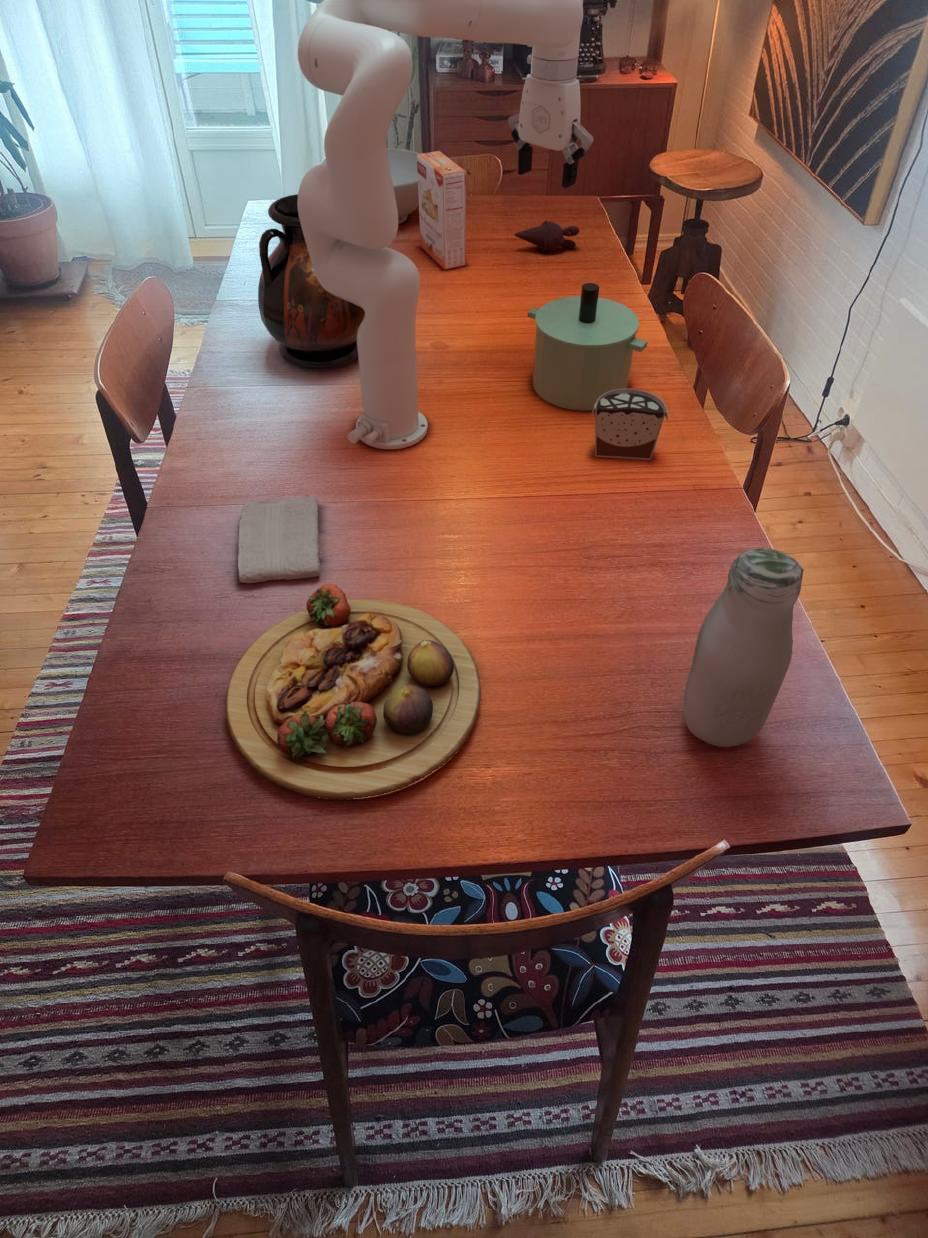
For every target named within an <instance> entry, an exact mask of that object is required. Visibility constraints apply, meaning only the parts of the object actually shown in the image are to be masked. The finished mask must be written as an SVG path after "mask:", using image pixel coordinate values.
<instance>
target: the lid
mask: <svg viewBox="0 0 928 1238" xmlns="http://www.w3.org/2000/svg"><path fill="white" fill-rule="evenodd" d="M599 295H600V285H599V284H598V283H594V282H586V283H583V284H582V285H581V291H580V295H576V296H575V295H574V296H565V297H561V298H560V297H559V298H557V299H553V300H551V301H549V302H546V303H545V304H543V305H541V306H540V308H539V310H538V311H537V313H536V316H535V319H534V323H535V327H536V326H537V328H538V330H539V331H540V332H541V333H542V334H543V335H545V336H546V337H548V338H550V339H552V340H554V341H556V342H559V343H562V344H565V345H569V346H574V347H582V348H602V347H610V346H614V345H618V344H621V343H623V342H626V341H628V340H629V339H631V338H632V337H633V336H634V335H635V334H636V335H637V333H638V331H639V328H640V320H639V317H638V316H637V314H636V313H635V312H634V311H633V310H632V309H631V308H630V307H628V306H626V305H624V304H622V303H620V302H618V301H615V300H611V299H607V298H604V297H599Z"/></svg>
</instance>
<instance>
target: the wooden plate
mask: <svg viewBox="0 0 928 1238" xmlns="http://www.w3.org/2000/svg"><path fill="white" fill-rule="evenodd" d="M307 597H308V599H307V601H306V604H305V605H306V609H303V610H301V611H298V612H296V613H295V614H292V615H291V616H288V617H286V618H285V619H283V620H281V621H279V622H278V623H276V624H274V625H273V626H271V627H270V628H269V629H268V630H266V631H265V632H264V633H262V634H261V635H260V636H259V637H258V638H257V639H256V640H255V641H253V643H252V644H251V645H250V646H249V647H248V649H247V650H246V651H245V652H244V654H243V655H242V656H241V658H240V659H239V661H238V662H237V664H236V666H235V668H234V670H233V672H232V674H231V676H230V679H229V682H228V685H227V689H226V690H227V691H226V695H225V715H226V726H227V729H228V731H229V734H230V737H231V739H232V741H233V744H234V745H235V747H236V749H237V750H238V752H239V753H240V755H241V756H242V757H243V759H244V760H245V761H246V762H247V763H248V765H250V767H252V768H253V769H254V770H255V771H256V772H257V773H258V774H259V775H261V776H262V777H264V778H265V779H266V780H268V781H270V782H271V783H273V784H275V785H277V786H279V787H281V786H282V787H281V788H283V787H284V788H283V789H285V788H286V789H285V790H288V791H290V790H291V792H293V791H294V792H293V793H296V792H297V793H296V794H299V793H300V794H299V795H302V794H303V795H302V796H306V795H307V796H306V797H310V796H312V797H311V798H316V797H320V798H319V800H320V799H321V798H326V799H325V800H330V799H353V798H362V797H368V796H375V795H381V794H384V793H388V792H391V791H395V790H397V789H401V788H403V787H406V786H408V785H409V784H412V783H414V782H415V781H418V780H420V779H421V778H424V777H425V776H426V775H428V774H430V773H432V771H434V770H436V769H438V768H439V767H441V766H443V764H445V763H446V762H447V761H448V760H449V759H450V758H452V757H453V756H454V755H455V753H456V752H457V751H458V750H459V749H460V748H461V746H462V745H463V743H464V742H465V740H466V739H467V737H468V736H469V737H470V735H471V733H472V731H473V729H474V727H475V725H476V722H477V719H478V716H479V713H478V712H480V706H481V697H482V687H481V679H480V674H479V671H478V668H477V664H476V662H475V660H474V658H473V655H472V654H471V652H470V650H469V649H468V647H467V645H466V644H465V643H464V641H463V640H462V639H461V638H460V637H459V636H458V635H457V634H456V632H454V631H453V630H452V629H451V628H450V627H449V626H448V625H446V624H444V623H443V622H442V621H440V620H439V619H437V618H436V617H434V616H433V615H431V614H429V613H427V612H425V611H422V610H420V609H418V608H416V607H414V606H409V605H406V604H403V603H400V602H394V601H389V600H381V599H371V598H369V599H368V598H359V599H358V598H355V599H347V596H346V593H345V592H344V591H343V589H342V588H340V587H339V586H338V585H336V584H334V583H325V584H323V585H321V586H320V588H317V589H316V591H314V592H313V593H312V594H311V595H307ZM474 724H475V725H474ZM473 726H474V727H473ZM469 734H470V735H469ZM469 737H468V738H469ZM467 740H468V739H467ZM467 740H466V741H467ZM465 743H466V742H465ZM465 743H464V744H465ZM463 746H464V745H463ZM463 746H462V747H463ZM461 749H462V748H461ZM461 749H460V750H461ZM460 750H459V751H460ZM455 756H456V755H455ZM455 756H454V757H455ZM454 757H453V758H454ZM453 758H452V759H453ZM446 765H447V764H445V765H444V766H446ZM444 766H443V767H444ZM383 767H386V768H383ZM376 769H379V770H376ZM373 770H374V771H373ZM440 770H441V769H439V770H438V771H440ZM438 771H436V772H435V773H437V772H438ZM356 772H357V773H356ZM423 781H424V780H422V781H420V782H419V783H421V782H423ZM408 788H410V787H408ZM408 788H407V789H408ZM403 790H405V789H403ZM403 790H400V791H399V792H401V791H403ZM392 794H393V793H391V794H387V795H386V796H388V795H392ZM380 797H381V796H379V797H378V798H380ZM327 798H328V799H327ZM375 798H376V797H373V798H372V799H375ZM316 799H317V798H316ZM369 799H370V798H368V799H367V800H369ZM321 800H322V799H321ZM359 800H362V799H357V800H356V801H359Z"/></svg>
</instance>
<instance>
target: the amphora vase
mask: <svg viewBox="0 0 928 1238" xmlns="http://www.w3.org/2000/svg"><path fill="white" fill-rule="evenodd" d="M297 200H298V193H295V194H289V195H286V196H283V197H281V198H279V199H276V200H275V201H274V202H272V203H271V204H270V205H269V207H268V209H267V214H268V217H269V218H270V219H271V221H273V222H275V223H276V224H279V225H281V229H282V231H281V230H280V229H278V228H269V229H266V230H265V231H263V233H262V234H261V236H260V239H259V242H258V250H259V251H258V252H259V253H258V254H259V259H260V264H261V265H260V266H261V273H260V276H259V281H258V286H257V304H258V311H259V315H260V319H261V322H262V324H263V325H264V327H265V329H266V330H267V332H268V333H269V334H270V335H271V337H272V338H274V340H275V341H276V342H278V343H279V345H278V351H279V352H278V353H279V355H280V357H281V358H282V359H283V361H285V362H286V363H288V364H289V365H291V366H292V367H296V368H298V369H302V370H308V371H328V370H334V369H337V368H342V367H344V366H346V365H348V364H351V363H352V362H354V361H355V360H357V358H358V350H357V332H358V328H359V326H360V324H361V323H362V321H363V319H364V316H365V311H364V309H363V308H362V307H360V306H357V305H355V304H354V303H351V302H349V301H346V300H344V299H342V298H339V297H337V296H335V295H333V294H331V293H329V292H328V291H326V290H325V289H324V288H323V287H322V286H321V284H320V283H319V281H318V279H317V277H316V275H315V272H314V269H313V265H312V262H311V259H310V255H309V252H308V248H307V245H306V241H305V238H304V234H303V230H302V227H301V223H300V219H299V214H298V205H297ZM273 238H278V240H279V243H278V244H277V245H276V247H275V248H274V249H273V250H272V252H271V253H270V255H269V245H270V241H271V240H272V239H273Z"/></svg>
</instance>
